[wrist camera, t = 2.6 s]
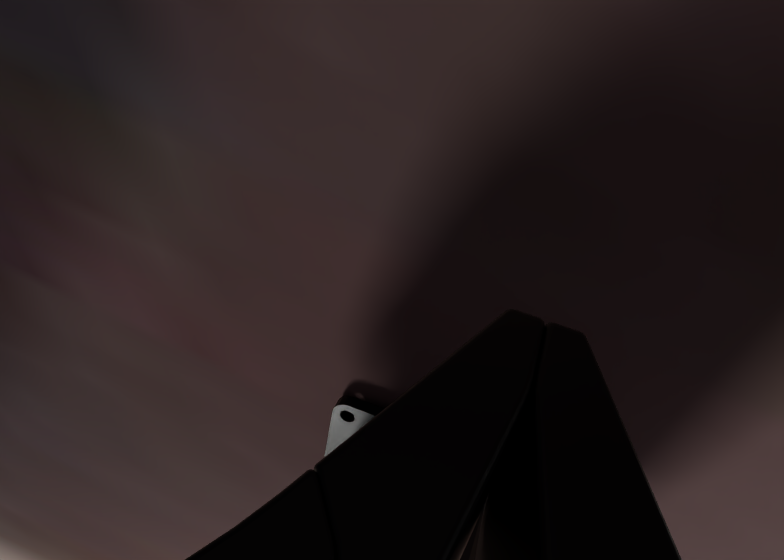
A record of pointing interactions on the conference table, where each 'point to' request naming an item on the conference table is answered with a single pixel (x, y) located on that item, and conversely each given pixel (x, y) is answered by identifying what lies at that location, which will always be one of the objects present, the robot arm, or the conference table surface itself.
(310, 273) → the conference table surface
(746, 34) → the conference table surface
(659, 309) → the conference table surface
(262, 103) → the conference table surface
